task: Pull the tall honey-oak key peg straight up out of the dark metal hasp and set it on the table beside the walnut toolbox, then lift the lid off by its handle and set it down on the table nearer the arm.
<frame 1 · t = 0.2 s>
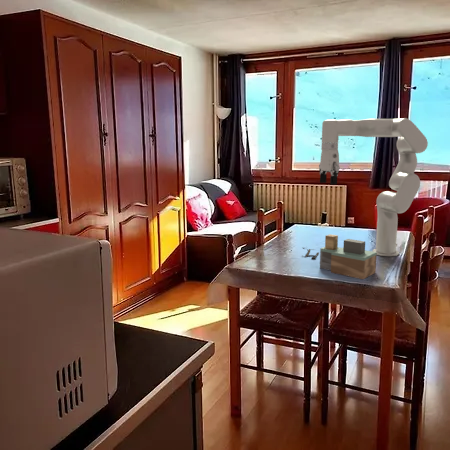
hand: (328, 183, 204), 37 cm above the table, tool pointing down, fingers open, 9 cm apart
key: (330, 261, 195), point 3 cm above the table, touching toolbox
hacksaw: (309, 254, 222), on the table
toolbox: (353, 272, 188), on the table
lid: (353, 254, 187), point 8 cm above the table, touching toolbox
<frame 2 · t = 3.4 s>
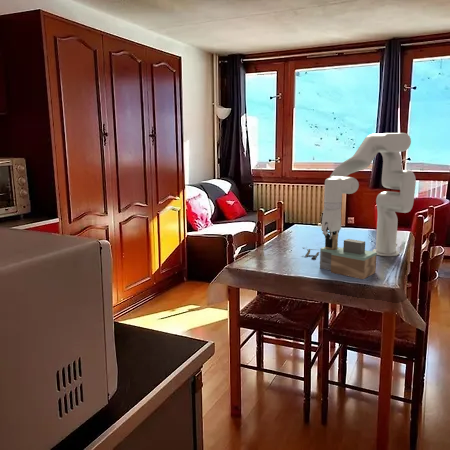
hand: (331, 245, 194), 10 cm above the table, tool pointing down, fingers closed on key, 4 cm apart
key: (330, 261, 195), point 3 cm above the table, touching gripper, toolbox
everything else where it was.
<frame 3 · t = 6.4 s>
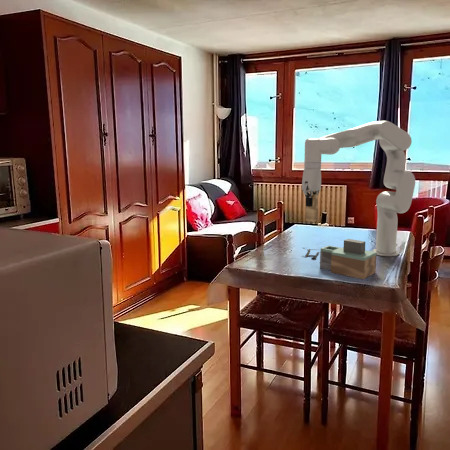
hand: (311, 205, 200), 27 cm above the table, tool pointing down, fingers closed on key, 4 cm apart
key: (311, 220, 201), point 20 cm above the table, touching gripper
everything else where it was.
when the fingers open (9 cm above the table, at t = 9.8 s): key drops 1 cm, on the table.
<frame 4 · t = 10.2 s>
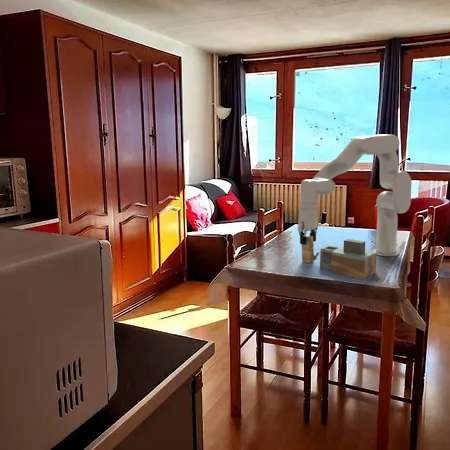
hand: (308, 242, 204), 9 cm above the table, tool pointing down, fingers open, 7 cm apart
key: (308, 261, 206), on the table
everything else where it was.
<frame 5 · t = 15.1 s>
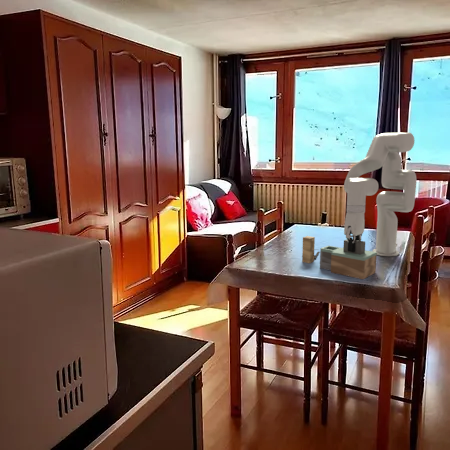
hand: (354, 250, 186), 10 cm above the table, tool pointing down, fingers closed on lid, 4 cm apart
lid: (353, 254, 187), point 8 cm above the table, touching gripper, toolbox
everything else where it was.
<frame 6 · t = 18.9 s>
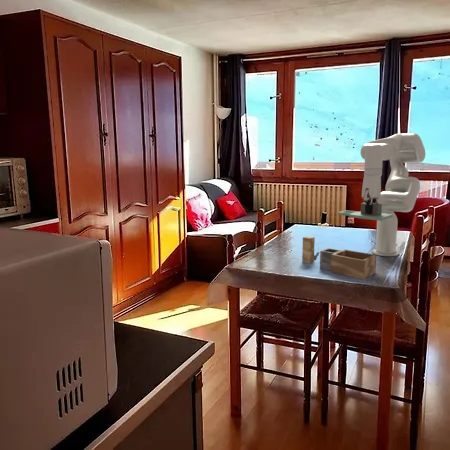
hand: (370, 212, 195), 25 cm above the table, tool pointing down, fingers closed on lid, 4 cm apart
lid: (370, 216, 196), point 22 cm above the table, touching gripper
everything else where it was.
when the fingers open (4 cm above the table, at t = 22.8 s): lid drops 2 cm, on the table.
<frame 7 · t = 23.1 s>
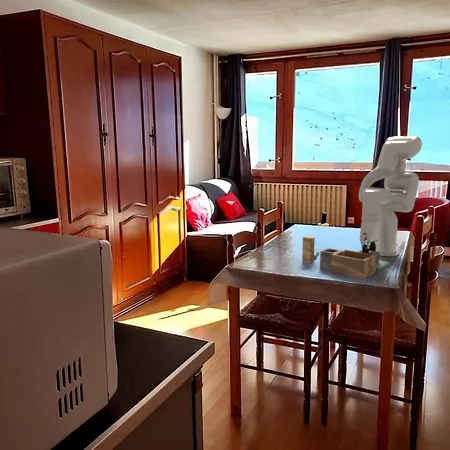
hand: (368, 254, 199), 5 cm above the table, tool pointing down, fingers open, 6 cm apart
lid: (368, 264, 200), on the table
everything else where it was.
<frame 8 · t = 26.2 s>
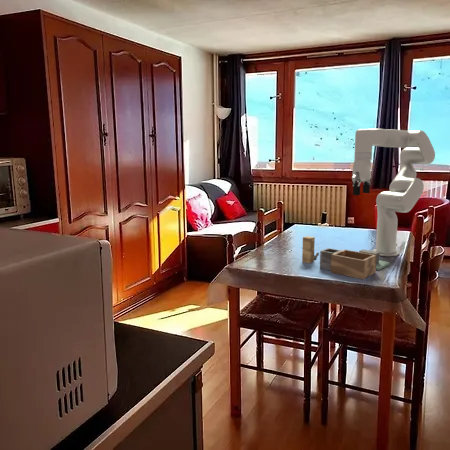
hand: (361, 194, 199), 32 cm above the table, tool pointing down, fingers open, 9 cm apart
nothing on the table moved.
at the end: key inside the target area (0.3 cm from its centre), on the table; lid inside the target area (0.1 cm from its centre), on the table; lid tilted 0° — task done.
